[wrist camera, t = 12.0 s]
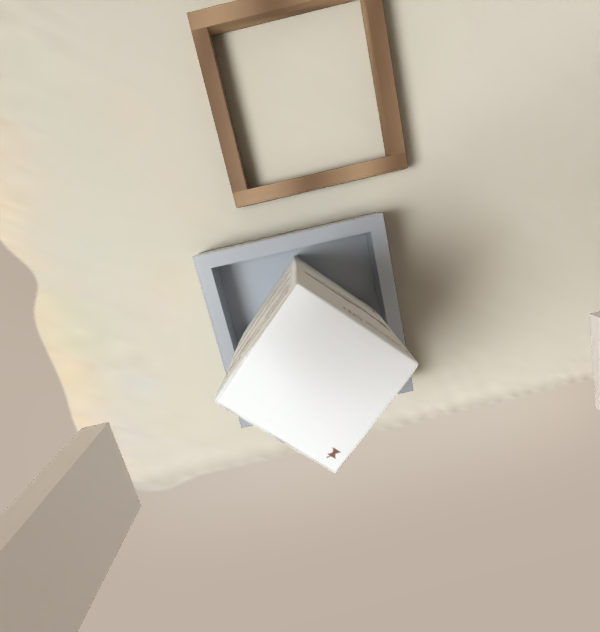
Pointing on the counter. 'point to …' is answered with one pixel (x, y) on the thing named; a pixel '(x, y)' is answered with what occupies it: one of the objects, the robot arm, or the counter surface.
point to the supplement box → (315, 367)
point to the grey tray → (273, 258)
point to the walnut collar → (248, 10)
